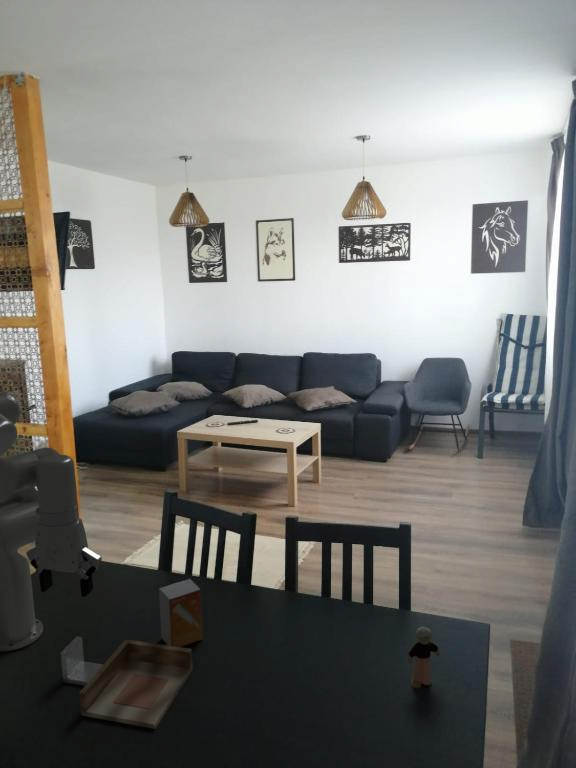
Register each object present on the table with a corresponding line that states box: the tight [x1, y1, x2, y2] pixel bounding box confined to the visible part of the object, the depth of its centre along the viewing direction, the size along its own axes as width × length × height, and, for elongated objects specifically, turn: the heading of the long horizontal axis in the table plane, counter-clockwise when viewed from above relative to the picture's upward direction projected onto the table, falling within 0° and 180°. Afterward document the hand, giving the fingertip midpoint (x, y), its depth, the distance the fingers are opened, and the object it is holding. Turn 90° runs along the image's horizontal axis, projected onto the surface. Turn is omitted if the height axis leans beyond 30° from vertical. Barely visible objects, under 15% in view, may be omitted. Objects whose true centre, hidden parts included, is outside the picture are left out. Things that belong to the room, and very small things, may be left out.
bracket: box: [60, 635, 104, 687], centre depth 131 cm, size 7×6×7 cm
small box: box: [158, 578, 203, 648], centre depth 143 cm, size 8×6×13 cm
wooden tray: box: [78, 639, 194, 730], centre depth 126 cm, size 16×18×5 cm
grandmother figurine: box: [405, 626, 441, 689], centre depth 126 cm, size 8×4×13 cm, turn 117°
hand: (66, 591), depth 128 cm, fingers open, 9 cm apart
